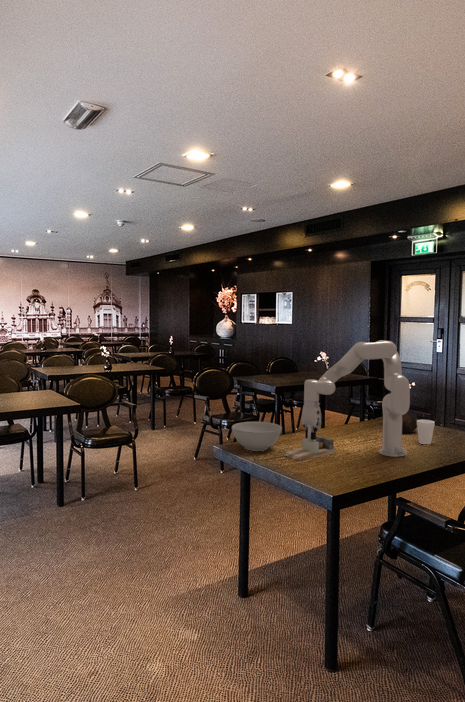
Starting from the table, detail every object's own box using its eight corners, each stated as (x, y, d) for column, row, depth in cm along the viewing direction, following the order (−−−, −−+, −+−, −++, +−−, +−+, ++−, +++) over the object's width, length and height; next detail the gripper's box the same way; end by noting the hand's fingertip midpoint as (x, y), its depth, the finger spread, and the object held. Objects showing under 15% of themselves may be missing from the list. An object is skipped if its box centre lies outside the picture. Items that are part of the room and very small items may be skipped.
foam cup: (434, 446, 275) (435, 423, 274) (416, 445, 278) (417, 422, 277) (433, 442, 284) (433, 420, 283) (415, 441, 287) (416, 419, 286)
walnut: (324, 448, 260) (324, 443, 260) (319, 449, 258) (319, 443, 258) (319, 447, 263) (319, 441, 263) (314, 448, 261) (314, 442, 261)
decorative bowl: (270, 441, 283) (271, 420, 282) (289, 453, 257) (289, 430, 256) (225, 444, 275) (225, 422, 274) (239, 457, 249) (240, 433, 249)
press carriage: (319, 451, 254) (320, 422, 253) (313, 452, 252) (314, 423, 251) (306, 447, 261) (307, 419, 260) (301, 448, 259) (301, 420, 258)
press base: (335, 452, 259) (335, 439, 259) (299, 460, 244) (300, 447, 243) (318, 448, 269) (318, 435, 269) (283, 455, 253) (283, 442, 253)
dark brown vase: (418, 435, 301) (420, 390, 299) (387, 433, 306) (389, 388, 304) (416, 429, 318) (418, 386, 316) (387, 427, 323) (389, 385, 321)
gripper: (328, 405, 251) (327, 441, 252) (305, 400, 264) (304, 434, 265) (318, 406, 246) (317, 443, 247) (294, 402, 259) (294, 436, 260)
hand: (310, 438), depth 256 cm, fingers closed on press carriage, 3 cm apart
